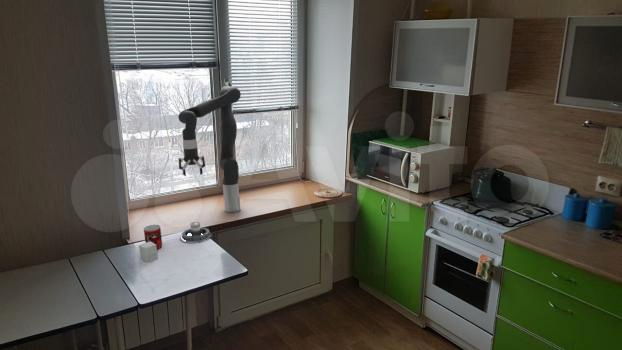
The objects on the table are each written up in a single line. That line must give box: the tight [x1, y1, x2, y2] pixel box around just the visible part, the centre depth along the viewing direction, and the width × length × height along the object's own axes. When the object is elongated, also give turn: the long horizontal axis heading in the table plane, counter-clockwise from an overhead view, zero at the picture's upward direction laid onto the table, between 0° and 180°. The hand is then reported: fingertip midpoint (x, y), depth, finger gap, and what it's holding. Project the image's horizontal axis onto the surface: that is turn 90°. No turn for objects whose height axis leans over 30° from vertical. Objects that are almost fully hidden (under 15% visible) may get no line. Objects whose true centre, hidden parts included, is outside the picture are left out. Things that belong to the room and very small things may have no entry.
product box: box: [138, 241, 159, 263], centre depth 222 cm, size 6×6×7 cm
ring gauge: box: [181, 227, 212, 243], centre depth 248 cm, size 16×16×3 cm
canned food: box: [143, 224, 163, 251], centre depth 234 cm, size 8×8×11 cm
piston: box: [190, 221, 201, 237], centre depth 247 cm, size 5×5×7 cm
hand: (193, 175), depth 262 cm, fingers open, 8 cm apart
